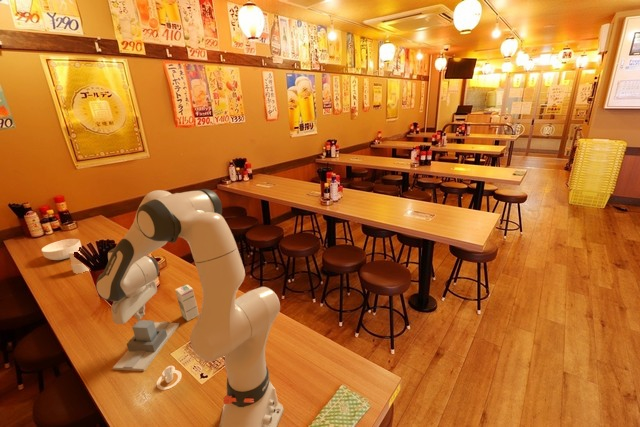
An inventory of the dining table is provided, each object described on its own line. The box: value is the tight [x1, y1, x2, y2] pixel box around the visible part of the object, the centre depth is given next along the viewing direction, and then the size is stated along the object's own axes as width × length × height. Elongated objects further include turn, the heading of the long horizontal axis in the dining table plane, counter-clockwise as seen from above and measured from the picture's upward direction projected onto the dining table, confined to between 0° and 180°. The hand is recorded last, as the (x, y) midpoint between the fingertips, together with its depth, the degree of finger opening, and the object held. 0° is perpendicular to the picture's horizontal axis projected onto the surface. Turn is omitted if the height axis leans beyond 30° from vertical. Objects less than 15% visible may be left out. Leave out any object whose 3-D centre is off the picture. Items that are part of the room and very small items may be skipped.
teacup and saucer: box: [155, 365, 182, 391], centre depth 104 cm, size 9×8×4 cm
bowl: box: [40, 238, 82, 261], centre depth 198 cm, size 20×20×8 cm
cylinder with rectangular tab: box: [68, 250, 90, 275], centre depth 178 cm, size 9×9×12 cm
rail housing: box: [112, 321, 180, 372], centre depth 120 cm, size 24×12×4 cm, turn 175°
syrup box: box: [175, 283, 200, 322], centre depth 134 cm, size 6×6×14 cm
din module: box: [131, 319, 157, 342], centre depth 118 cm, size 4×7×9 cm, turn 85°
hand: (140, 317), depth 115 cm, fingers closed
